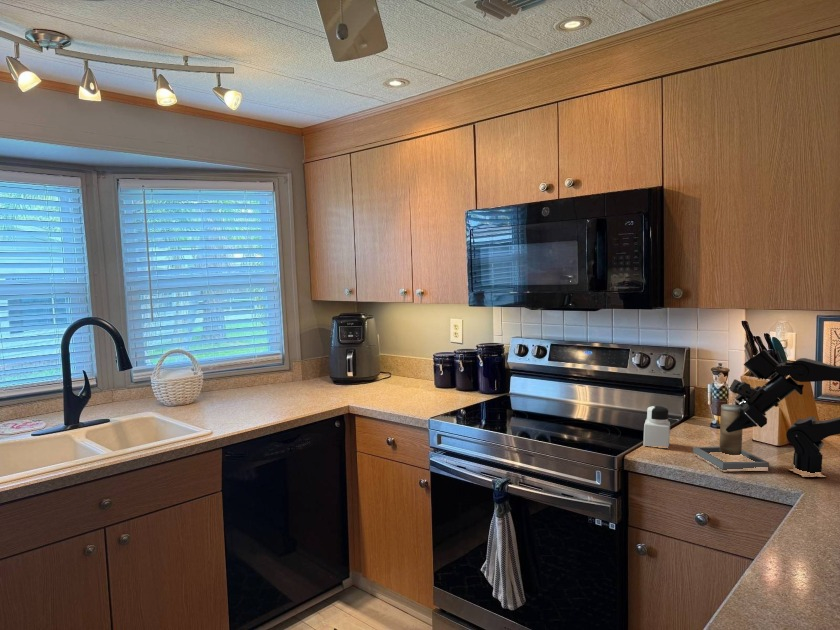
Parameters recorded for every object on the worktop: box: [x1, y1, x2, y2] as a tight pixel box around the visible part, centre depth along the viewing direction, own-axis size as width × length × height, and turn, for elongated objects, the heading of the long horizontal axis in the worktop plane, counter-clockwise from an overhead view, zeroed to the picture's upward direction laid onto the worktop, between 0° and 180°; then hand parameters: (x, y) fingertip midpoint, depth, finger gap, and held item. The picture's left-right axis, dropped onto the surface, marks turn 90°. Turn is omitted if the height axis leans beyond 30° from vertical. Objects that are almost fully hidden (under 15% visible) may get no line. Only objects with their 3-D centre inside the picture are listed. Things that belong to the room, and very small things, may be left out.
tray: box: [692, 446, 770, 470], centre depth 168 cm, size 15×13×2 cm
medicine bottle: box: [642, 405, 671, 448], centre depth 184 cm, size 7×7×12 cm
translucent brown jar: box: [719, 403, 743, 455], centre depth 167 cm, size 6×6×13 cm
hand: (725, 428), depth 167 cm, fingers closed on translucent brown jar, 5 cm apart
